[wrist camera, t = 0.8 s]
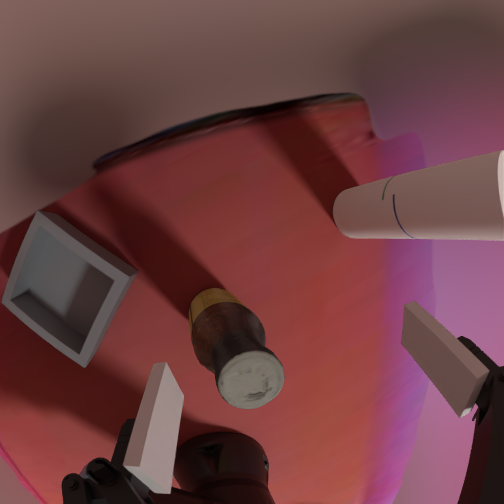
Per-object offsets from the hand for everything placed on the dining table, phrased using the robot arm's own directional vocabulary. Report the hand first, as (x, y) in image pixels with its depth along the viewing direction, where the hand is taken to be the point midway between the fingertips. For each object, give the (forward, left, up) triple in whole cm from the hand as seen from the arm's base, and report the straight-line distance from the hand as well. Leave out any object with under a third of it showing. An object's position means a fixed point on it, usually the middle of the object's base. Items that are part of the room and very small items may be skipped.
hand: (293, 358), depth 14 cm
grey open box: (-10, +17, -21) cm, 29 cm away
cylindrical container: (+18, -10, -21) cm, 30 cm away
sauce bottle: (-3, 0, -21) cm, 22 cm away
